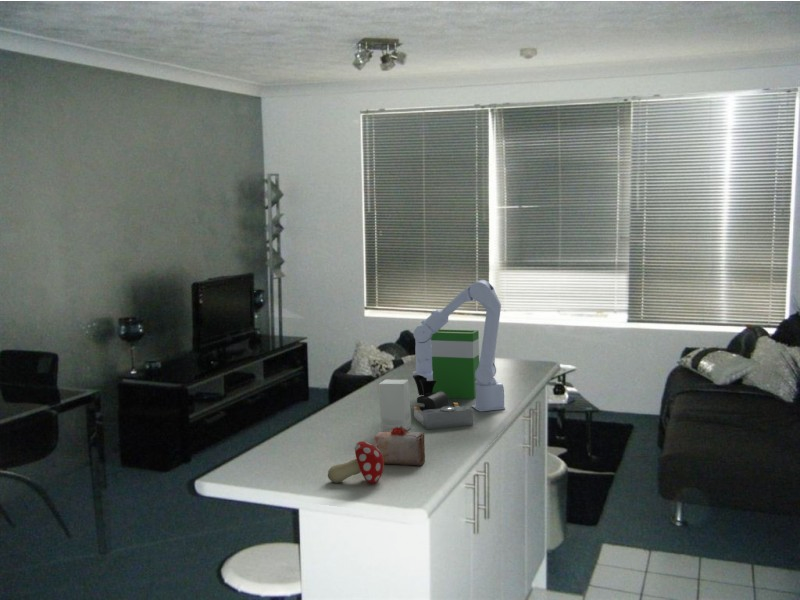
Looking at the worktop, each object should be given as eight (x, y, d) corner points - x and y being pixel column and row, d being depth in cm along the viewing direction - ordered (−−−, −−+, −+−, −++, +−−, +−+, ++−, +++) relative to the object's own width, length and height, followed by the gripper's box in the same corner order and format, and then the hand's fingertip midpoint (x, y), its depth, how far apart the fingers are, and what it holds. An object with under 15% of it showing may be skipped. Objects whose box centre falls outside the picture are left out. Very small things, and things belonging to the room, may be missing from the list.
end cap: (435, 418, 265) (435, 398, 264) (416, 416, 268) (416, 396, 268) (449, 411, 273) (448, 391, 272) (430, 409, 277) (430, 390, 276)
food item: (372, 465, 217) (371, 430, 216) (380, 456, 225) (379, 422, 224) (421, 468, 214) (420, 432, 213) (427, 458, 222) (426, 424, 221)
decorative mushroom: (315, 451, 203) (370, 430, 201) (330, 462, 212) (382, 442, 211) (326, 493, 197) (382, 471, 196) (340, 502, 207) (394, 481, 205)
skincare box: (411, 427, 254) (410, 379, 252) (405, 433, 248) (403, 383, 246) (387, 426, 257) (385, 378, 255) (379, 431, 251) (378, 382, 249)
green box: (428, 396, 297) (426, 332, 294) (434, 391, 304) (433, 329, 301) (474, 398, 290) (472, 333, 288) (479, 394, 297) (478, 330, 294)
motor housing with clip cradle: (456, 413, 270) (456, 396, 270) (473, 424, 255) (472, 407, 254) (414, 417, 267) (413, 400, 266) (428, 429, 251) (427, 412, 251)
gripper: (407, 356, 285) (408, 393, 286) (418, 363, 271) (419, 402, 272) (426, 354, 287) (427, 392, 288) (438, 361, 273) (439, 400, 274)
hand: (424, 397), depth 280 cm, fingers open, 7 cm apart
